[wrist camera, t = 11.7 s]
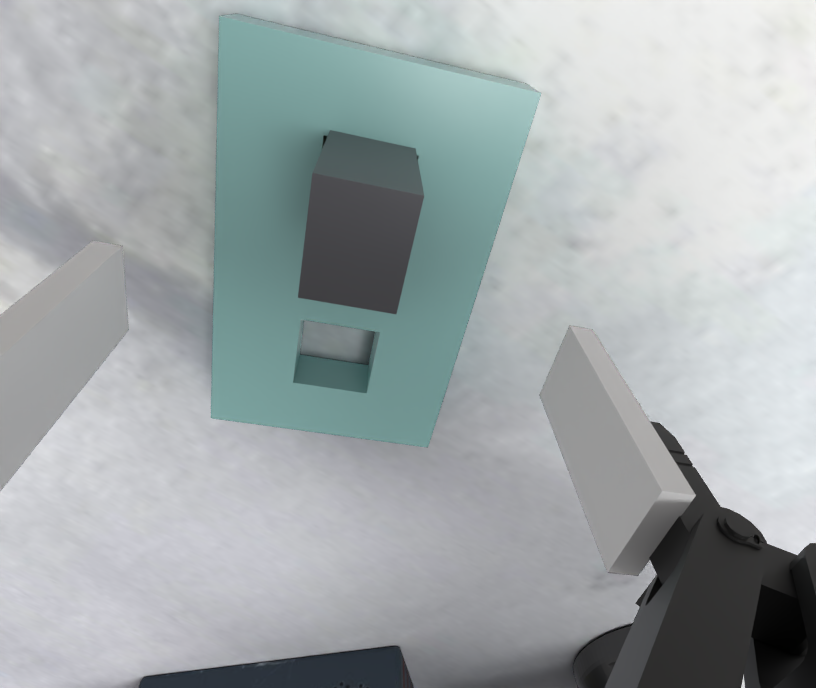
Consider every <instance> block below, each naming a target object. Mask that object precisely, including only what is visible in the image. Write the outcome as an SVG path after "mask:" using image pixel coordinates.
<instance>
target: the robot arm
mask: <svg viewBox="0 0 816 688" xmlns="http://www.w3.org/2000/svg"><path fill="white" fill-rule="evenodd" d="M128 330H129V327H128V314H127V300H126V286H125V272H124V259H123V246H121V245H115V244H110V243H104V242H98V241H92V242H91V243H89V244H88V245H87V246H86V247H84V248H83V249H82V250H81V251H79V252H78V253H77V254H76V255H74V256H73V257H72V258H71V259H69V260H68V261H67V262H66V263H64V264H63V265H62V266H61V267H59V268H58V269H57V270H56V271H55V272H53V273H52V274H51V275H50V276H48V277H47V278H46V279H45V280H43V281H42V282H41V283H40V284H38V285H37V286H36V287H35V288H33V289H32V290H31V291H30V292H28V293H27V294H26V295H25V296H23V297H22V298H21V299H20V300H18V301H17V302H16V303H15V304H13V305H12V306H11V307H10V308H8V309H7V310H6V311H5V312H3V313H2V314H1V315H0V491H1V490H2V489H3V488H4V486H5V485H6V484H7V483H8V481H9V480H10V479H11V478H12V476H13V475H14V474H15V473H16V471H17V470H18V469H19V468H20V466H21V465H22V464H23V463H24V461H25V460H26V459H27V458H28V456H29V455H30V454H31V452H32V451H33V450H34V449H35V447H36V446H37V445H38V444H39V442H40V441H41V440H42V439H43V437H44V436H45V435H46V434H47V432H48V431H49V430H50V429H51V427H52V426H53V425H54V424H55V422H56V421H57V420H58V419H59V417H60V416H61V415H62V413H63V412H64V411H65V410H66V408H67V407H68V406H69V405H70V403H71V402H72V401H73V400H74V398H75V397H76V396H77V395H78V393H79V392H80V391H81V390H82V388H83V387H84V386H85V385H86V383H87V382H88V381H89V380H90V378H91V377H92V376H93V374H94V373H95V372H96V371H97V369H98V368H99V367H100V366H101V364H102V363H103V362H104V361H105V359H106V358H107V357H108V356H109V354H110V353H111V352H112V351H113V349H114V348H115V347H116V346H117V344H118V343H119V342H120V341H121V339H122V338H123V337H124V335H125V334H126V333H127V332H128ZM540 398H541V401H542V403H543V406H544V408H545V411H546V414H547V416H548V419H549V421H550V424H551V427H552V429H553V432H554V434H555V437H556V440H557V442H558V445H559V448H560V450H561V453H562V455H563V458H564V461H565V463H566V466H567V468H568V471H569V474H570V476H571V479H572V481H573V484H574V487H575V489H576V492H577V495H578V497H579V500H580V502H581V505H582V508H583V510H584V513H585V515H586V518H587V521H588V523H589V526H590V528H591V531H592V534H593V536H594V539H595V541H596V544H597V547H598V549H599V552H600V555H601V557H602V560H603V562H604V565H605V568H606V570H607V573H615V574H624V575H633V576H638V575H639V574H640V572H641V571H642V570H643V568H644V567H645V565H646V564H647V563H648V561H649V560H651V562H652V565H653V567H654V569H655V571H656V573H657V575H656V577H655V578H654V579H653V581H652V582H651V583H650V585H649V586H648V587H647V589H646V590H645V591H644V593H643V594H642V595H641V597H640V598H639V599H638V601H637V602H636V604H637V605H639V606H640V608H639V610H638V613H637V615H636V617H635V619H634V622H633V624H632V626H629V627H625V628H622V629H619V630H616V631H614V632H611V633H609V634H606V635H604V636H602V637H600V638H599V639H597V640H595V641H594V642H592V643H591V644H589V645H588V646H587V647H586V648H584V649H583V650H582V651H581V652H580V654H579V655H578V656H577V658H576V660H575V662H574V666H573V672H574V676H575V679H576V683H577V686H578V688H741V685H742V680H743V674H744V680H745V688H816V543H810V544H809V545H808V546H806V547H805V548H804V549H803V550H802V551H801V552H800V553H799V554H798V555H795V554H792V553H790V552H787V551H784V550H782V549H779V548H777V547H774V546H771V545H769V544H767V542H766V540H765V538H764V537H763V535H762V533H761V532H760V531H759V530H758V529H757V528H756V527H755V526H754V525H753V524H752V523H751V522H750V521H748V520H747V519H746V518H744V517H743V516H741V515H740V514H738V513H736V512H734V511H732V510H730V509H727V508H722V507H720V505H719V504H718V502H717V501H716V499H715V498H714V496H713V495H712V493H711V491H710V490H709V488H708V487H707V485H706V484H705V482H704V481H703V479H702V478H701V476H700V475H699V473H698V472H697V470H696V469H695V467H692V465H693V464H692V463H691V461H690V460H689V458H688V456H687V455H684V453H685V452H684V450H683V449H682V447H681V446H680V444H679V443H678V441H677V440H676V438H675V437H674V436H673V435H672V434H671V433H670V432H669V431H667V430H666V429H665V428H664V427H663V426H662V425H661V424H660V423H656V422H650V421H649V419H648V418H647V416H646V414H645V413H644V411H643V410H642V408H641V406H640V405H639V403H638V402H637V400H636V398H635V397H634V395H633V393H632V392H631V390H630V389H629V387H628V385H627V384H626V382H625V381H624V379H623V377H622V376H621V374H620V373H619V371H618V369H617V368H616V366H615V365H614V363H613V361H612V360H611V358H610V357H609V355H608V353H607V352H606V350H605V349H604V347H603V345H602V344H601V342H600V341H599V339H598V337H597V336H596V334H595V332H594V331H593V329H587V328H581V327H576V326H569V328H568V330H567V333H566V335H565V337H564V339H563V342H562V344H561V346H560V349H559V351H558V353H557V356H556V358H555V360H554V362H553V365H552V367H551V369H550V372H549V374H548V376H547V379H546V381H545V383H544V385H543V388H542V390H541V392H540Z"/></svg>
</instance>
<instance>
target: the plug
mask: <svg viewBox="0 0 816 688" xmlns="http://www.w3.org/2000/svg"><path fill="white" fill-rule="evenodd" d="M423 199H424V191H423V186H422V181H421V175H420V170H419V164H418V159H417V154H416V148H411V147H406V146H402V145H397V144H393V143H388V142H383V141H379V140H374V139H369V138H365V137H360V136H356V135H351V134H346V133H342V132H337V131H332V130H330V132H329V134H328V137H327V139H326V141H325V144H324V146H323V149H322V151H321V153H320V156H319V158H318V161H317V163H316V165H315V168H314V170H313V173H312V180H311V189H310V197H309V206H308V214H307V223H306V231H305V240H304V248H303V257H302V266H301V274H300V283H299V291H298V298H302V299H308V300H314V301H320V302H326V303H332V304H338V305H344V306H349V307H355V308H361V309H367V310H373V311H379V312H385V313H391V314H397V310H398V306H399V302H400V297H401V293H402V289H403V284H404V280H405V276H406V272H407V267H408V263H409V259H410V255H411V250H412V246H413V242H414V238H415V233H416V229H417V225H418V221H419V216H420V212H421V208H422V203H423Z"/></svg>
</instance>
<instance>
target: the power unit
mask: <svg viewBox="0 0 816 688" xmlns="http://www.w3.org/2000/svg"><path fill="white" fill-rule="evenodd" d="M139 688H413V686H412V683H411V680H410V677H409V674H408V671H407V668H406V665H405V662H404V660H403V657H402V654H401V651H400V649H399V647H396V646H393V647H385V648H377V649H369V650H361V651H353V652H345V653H337V654H328V655H320V656H312V657H304V658H296V659H288V660H280V661H272V662H264V663H256V664H247V665H239V666H231V667H223V668H215V669H207V670H199V671H191V672H183V673H174V674H166V675H158V676H150V677H145V678H143V679H142V681H141V683H140V686H139Z"/></svg>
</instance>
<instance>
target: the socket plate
mask: <svg viewBox="0 0 816 688" xmlns="http://www.w3.org/2000/svg"><path fill="white" fill-rule="evenodd" d="M540 96H541V93H540V92H539V91H537V90H536V89H534V88H532V87H531V86H529V85H528V84H525V83H521V82H517V81H513V80H509V79H505V78H501V77H496V76H492V75H488V74H484V73H480V72H476V71H472V70H467V69H463V68H459V67H455V66H451V65H447V64H443V63H438V62H434V61H430V60H426V59H422V58H418V57H414V56H409V55H405V54H401V53H397V52H393V51H389V50H385V49H380V48H376V47H372V46H368V45H364V44H360V43H356V42H351V41H347V40H343V39H339V38H335V37H331V36H327V35H322V34H318V33H314V32H310V31H306V30H302V29H298V28H293V27H289V26H285V25H281V24H277V23H273V22H269V21H264V20H260V19H256V18H252V17H248V16H244V15H240V14H231V15H223V16H219V54H218V102H217V150H216V197H215V245H214V293H213V340H212V388H211V418H213V419H220V420H228V421H235V422H243V423H250V424H257V425H265V426H272V427H280V428H287V429H294V430H302V431H309V432H317V433H324V434H331V435H339V436H346V437H354V438H361V439H368V440H376V441H383V442H391V443H398V444H405V445H413V446H420V447H428V445H429V442H430V439H431V436H432V433H433V430H434V427H435V424H436V420H437V417H438V414H439V411H440V408H441V405H442V402H443V399H444V395H445V392H446V389H447V386H448V383H449V380H450V377H451V374H452V370H453V367H454V364H455V361H456V358H457V355H458V352H459V349H460V345H461V342H462V339H463V336H464V333H465V330H466V327H467V324H468V321H469V317H470V314H471V311H472V308H473V305H474V302H475V299H476V296H477V292H478V289H479V286H480V283H481V280H482V277H483V274H484V271H485V267H486V264H487V261H488V258H489V255H490V252H491V249H492V246H493V242H494V239H495V236H496V233H497V230H498V227H499V224H500V221H501V218H502V214H503V211H504V208H505V205H506V202H507V199H508V196H509V193H510V189H511V186H512V183H513V180H514V177H515V174H516V171H517V168H518V164H519V161H520V158H521V155H522V152H523V149H524V146H525V143H526V139H527V136H528V133H529V130H530V127H531V124H532V121H533V118H534V115H535V111H536V108H537V105H538V102H539V99H540ZM330 130H332V131H337V132H342V133H346V134H351V135H356V136H360V137H365V138H369V139H374V140H379V141H383V142H388V143H393V144H397V145H402V146H406V147H411V148H416V154H417V159H418V164H419V170H420V175H421V181H422V186H423V191H424V199H423V203H422V208H421V212H420V216H419V221H418V225H417V229H416V233H415V238H414V242H413V246H412V250H411V255H410V259H409V263H408V267H407V272H406V276H405V280H404V284H403V289H402V293H401V297H400V302H399V306H398V310H397V314H391V313H385V312H379V311H373V310H367V309H361V308H355V307H349V306H344V305H338V304H332V303H326V302H320V301H314V300H308V299H302V298H298V291H299V283H300V274H301V266H302V257H303V248H304V240H305V231H306V223H307V214H308V206H309V197H310V189H311V180H312V173H313V170H314V168H315V165H316V163H317V161H318V158H319V156H320V153H321V151H322V149H323V146H324V144H325V141H326V139H327V137H328V134H329V132H330ZM304 320H307V321H313V322H319V323H325V324H332V325H338V326H344V327H350V328H356V329H362V330H368V331H374V332H375V336H374V340H373V345H372V350H371V354H370V359H369V364H368V365H364V364H358V363H351V362H345V361H338V360H332V359H325V358H319V357H312V356H306V355H300V349H301V341H302V333H303V325H304Z"/></svg>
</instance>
